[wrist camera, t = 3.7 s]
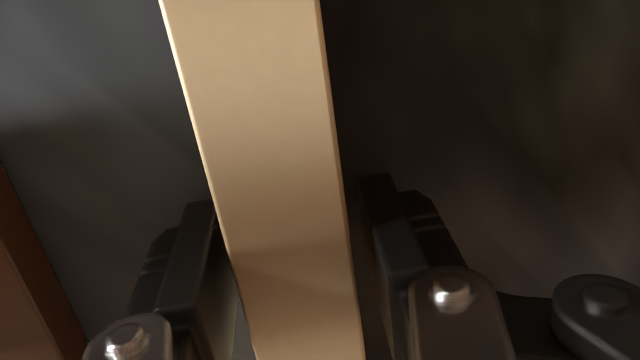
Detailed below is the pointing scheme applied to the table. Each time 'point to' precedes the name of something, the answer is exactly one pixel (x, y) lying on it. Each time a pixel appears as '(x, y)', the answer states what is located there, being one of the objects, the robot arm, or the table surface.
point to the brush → (272, 168)
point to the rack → (31, 293)
